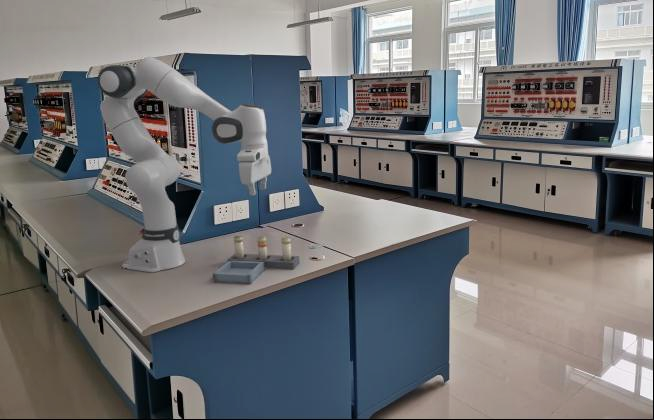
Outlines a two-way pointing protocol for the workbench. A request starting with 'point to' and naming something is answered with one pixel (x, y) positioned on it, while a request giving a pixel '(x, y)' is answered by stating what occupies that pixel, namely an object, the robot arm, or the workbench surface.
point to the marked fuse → (262, 248)
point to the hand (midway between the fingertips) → (258, 192)
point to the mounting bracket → (315, 246)
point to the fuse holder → (270, 261)
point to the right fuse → (286, 248)
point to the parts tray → (239, 272)
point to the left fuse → (239, 247)
